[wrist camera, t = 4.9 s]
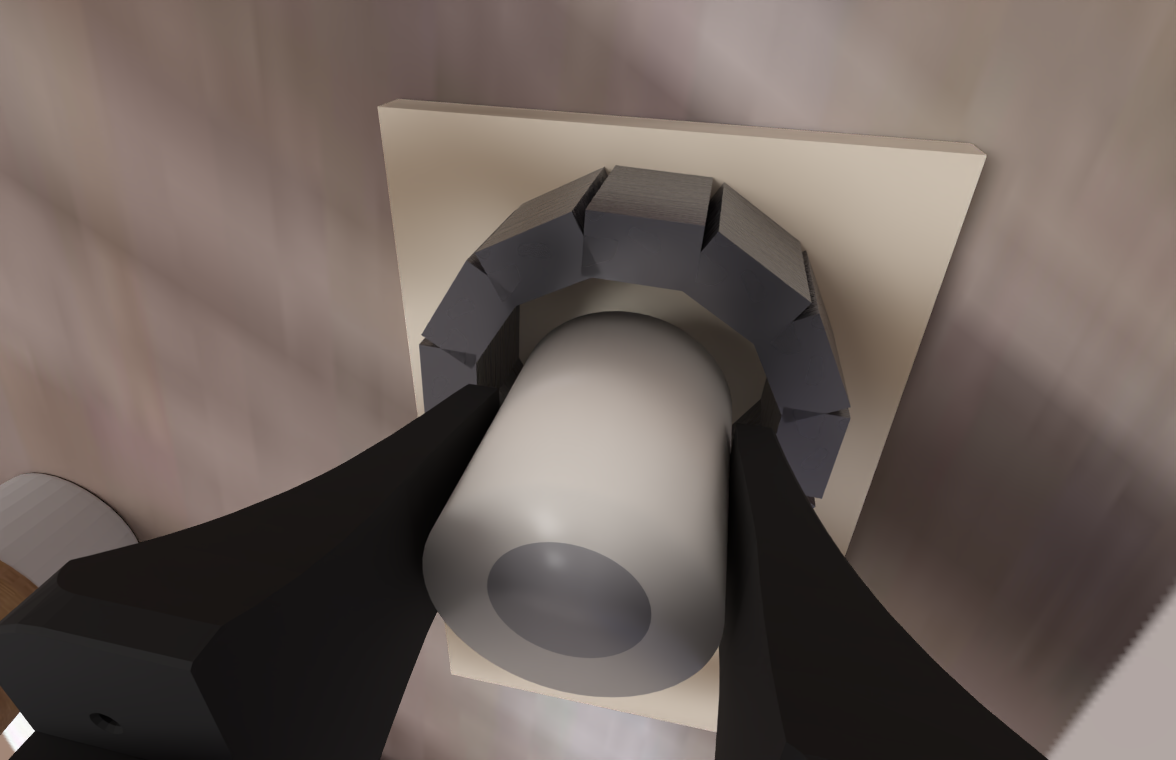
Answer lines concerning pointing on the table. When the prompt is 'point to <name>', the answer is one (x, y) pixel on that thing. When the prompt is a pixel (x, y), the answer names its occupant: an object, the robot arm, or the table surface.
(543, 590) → the white cylinder
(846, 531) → the mount plate
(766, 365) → the dark grey segmented ring
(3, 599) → the coffee cup
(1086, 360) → the table surface
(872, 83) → the table surface
